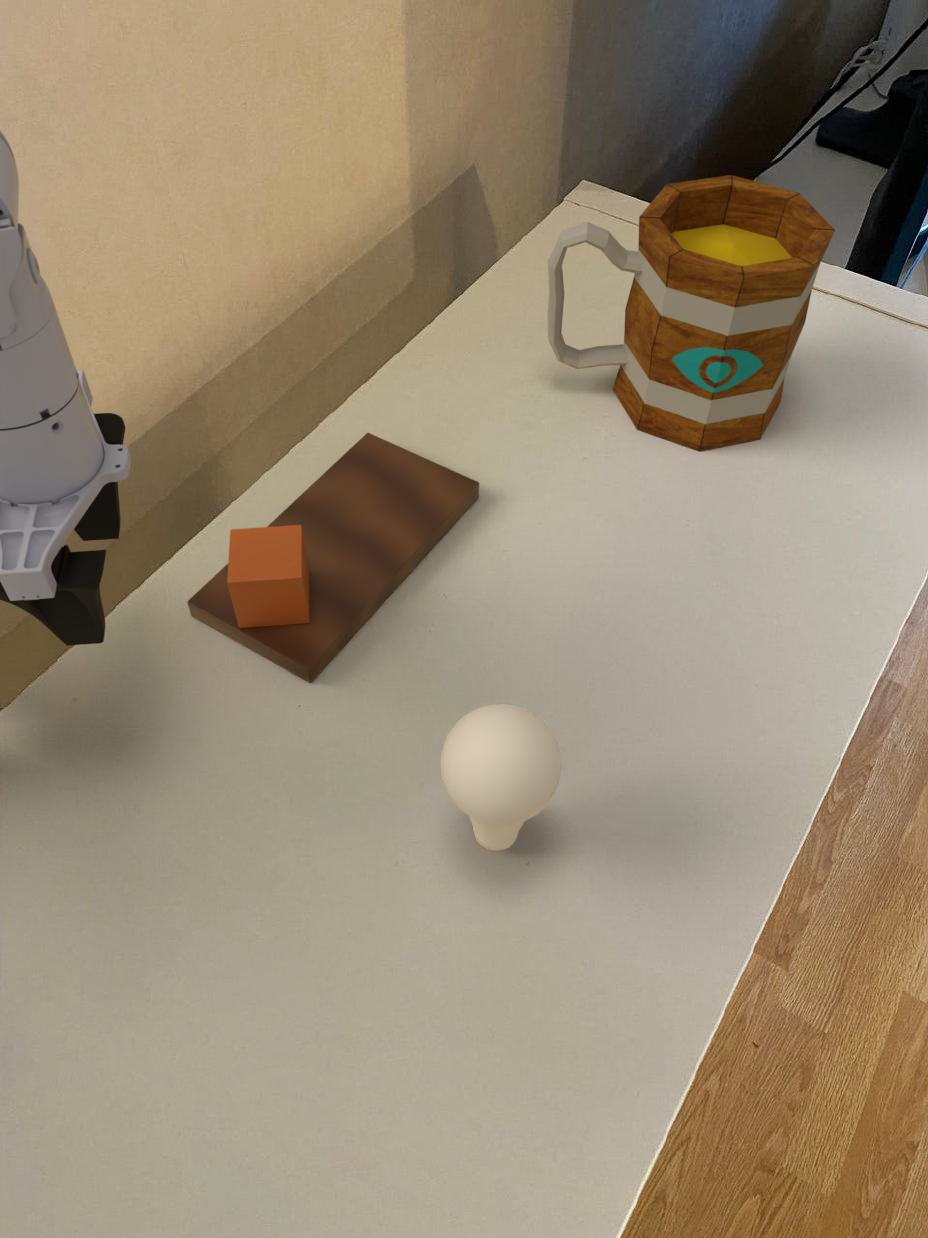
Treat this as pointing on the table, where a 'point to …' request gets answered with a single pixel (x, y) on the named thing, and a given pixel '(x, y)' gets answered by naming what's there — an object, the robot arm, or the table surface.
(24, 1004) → the table surface
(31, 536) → the robot arm
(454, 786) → the lightbulb
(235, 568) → the block
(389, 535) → the board
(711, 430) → the mug
